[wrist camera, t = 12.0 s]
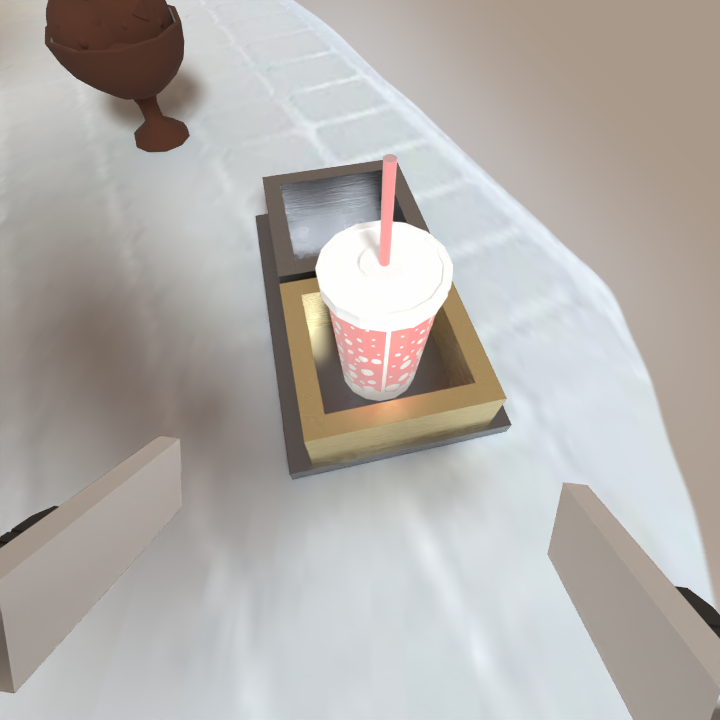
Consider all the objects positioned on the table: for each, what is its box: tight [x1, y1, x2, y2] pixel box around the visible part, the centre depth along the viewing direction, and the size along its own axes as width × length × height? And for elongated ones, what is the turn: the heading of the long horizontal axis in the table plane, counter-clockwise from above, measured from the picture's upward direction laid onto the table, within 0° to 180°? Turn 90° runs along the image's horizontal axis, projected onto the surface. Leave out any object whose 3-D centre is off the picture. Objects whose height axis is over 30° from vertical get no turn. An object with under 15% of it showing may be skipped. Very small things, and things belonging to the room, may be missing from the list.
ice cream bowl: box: [45, 0, 190, 152], centre depth 35 cm, size 11×11×15 cm
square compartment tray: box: [256, 160, 511, 479], centre depth 27 cm, size 22×13×4 cm, turn 13°
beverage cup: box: [315, 154, 453, 401], centre depth 19 cm, size 6×6×14 cm
